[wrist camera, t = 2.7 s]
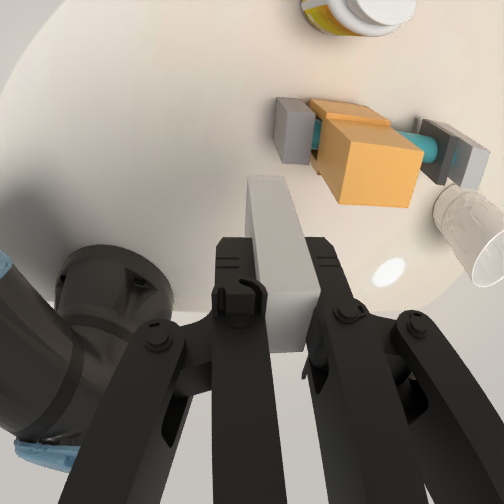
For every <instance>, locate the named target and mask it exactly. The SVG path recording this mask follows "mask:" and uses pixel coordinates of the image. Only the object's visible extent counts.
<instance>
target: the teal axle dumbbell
mask: <svg viewBox="0 0 504 504" xmlns="http://www.w3.org/2000/svg"><path fill="white" fill-rule="evenodd" d="M315 116H316V114H315V113H314V112H313V111H312V110H311V109H310V108H309V107H308V106H307V105H306V104H305V103H304V102H302V101H301V100H300V99H294V98H280V97H277V99H276V112H275V124H274V136H273V141H274V143H275V146H276V148H277V151H278V153H279V156H280V158H281V161H282V163H283V164H303V165H309V162H310V154H311V149H314V150H318V147H319V140H320V133H321V126H322V120H318V119H315ZM395 131H397V132H398V133H400V134H401V135H402V136H404V137H405V138H407V139H408V140H409V141H411V142H412V143H413V144H415V145H416V146H417V147H419V148H420V149H421V150H423V151H424V156H423V160H422V163H421V167H420V170H421V171H422V172H423V173H425V174H426V175H427V176H428V177H429V178H430V179H431V180H432V181H433V182H434V183H435V184H437V185H444V186H445V183H446V180H447V177H448V178H450V179H451V180H452V181H453V182H454V183H455V184H456V185H457V186H459V187H460V188H464V189H470V190H478V187H479V185H480V182H481V179H482V176H483V173H484V170H485V167H486V164H487V161H488V158H489V154H490V151H489V150H487V149H486V148H484V147H483V146H481V145H480V144H478V143H477V142H475V141H474V140H472V139H471V138H469V137H468V136H466V135H464V134H463V133H461V132H459V131H458V130H456V129H455V128H453V127H451V126H449V125H447V124H443V123H439V122H435V121H431V120H427V119H423V120H422V125H421V129H420V133H419V134H415V133H409V132H404V131H399V130H395Z"/></svg>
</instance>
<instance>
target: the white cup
mask: <svg viewBox="0 0 504 504" xmlns="http://www.w3.org/2000/svg"><path fill="white" fill-rule="evenodd" d="M433 219H434V223H435V225H436V227H437V228H438V229H439V231H440V232H441V233H442V235H443V236H444V238H445V240H446V242H447V243H448V245H449V246H450V247H451V249H452V251H453V252H454V254H455V256H456V257H457V259H458V260H459V262H460V263H461V265H462V266H463V268H464V269H465V271H466V272H467V274H468V275H469V277H470V279H471V280H472V282H473V283H474V285H476V286H477V287H488V286H491V285H493V284H495V283H497V282H498V281H500V280H501V279H503V278H504V213H503V212H502V211H501V210H500V209H499V208H498V207H497V206H495V205H494V204H493V203H491V202H490V201H489V200H488V199H487V198H485V197H484V196H482V195H481V194H479V193H478V192H477V191H476V190H470V189H464V188H460V187H459V186H457V185H456V184H454V185H451V186H449V187H448V188H447V189H446V190H445V191H443V192H442V193H441V194H440V196H439V198H438V199H437V201H436V203H435V205H434V210H433Z"/></svg>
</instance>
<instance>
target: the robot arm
mask: <svg viewBox="0 0 504 504" xmlns="http://www.w3.org/2000/svg"><path fill="white" fill-rule="evenodd" d="M245 236H246V238H245V237H223V238H222V239H221V241H220V242H219V243H218V245H217V246H216V263H215V286H214V288H213V291H212V294H211V296H212V310H211V311H210V313H209V314H208V315H207V316H206V317H204V318H203V319H201V320H200V321H197V322H195V323H192V324H188V325H184V326H179V325H177V324H176V323H175V322H173V321H170V320H171V315H172V309H173V293H172V289H171V287H170V285H169V283H168V281H167V279H166V278H165V276H164V275H163V274H162V273H161V272H160V271H159V270H158V269H157V268H156V267H155V266H154V265H153V264H152V263H150V262H149V261H148V260H146V259H144V258H143V257H141V256H139V255H137V254H135V253H133V252H131V251H128V250H125V249H122V248H118V247H113V246H103V245H99V246H90V247H86V248H83V249H80V250H78V251H76V252H74V253H73V254H72V255H71V256H69V257H68V259H67V260H66V261H65V263H64V265H63V267H62V269H61V271H60V273H59V275H58V277H57V281H56V288H55V303H54V309H53V308H52V307H51V306H50V305H49V304H48V303H47V302H46V301H45V300H44V299H43V298H42V296H41V295H40V294H39V293H38V292H37V291H36V290H35V289H34V288H33V286H32V285H31V284H30V283H29V282H28V281H27V280H26V278H25V277H24V276H23V275H22V274H21V273H20V271H19V270H18V269H17V268H16V267H15V265H14V264H13V261H12V259H11V258H10V256H9V255H8V254H6V253H3V252H2V250H1V249H0V427H1V428H3V429H5V430H6V431H8V432H10V433H11V434H13V435H15V436H16V437H17V438H16V440H14V445H15V452H16V454H17V455H18V456H19V457H21V458H23V459H24V460H26V461H29V462H32V463H34V464H38V465H40V466H43V467H47V468H50V469H54V470H58V471H62V472H66V473H69V476H68V478H67V481H66V483H65V486H64V489H63V491H62V494H61V496H60V499H59V502H58V504H160V501H161V497H162V494H163V491H164V488H165V484H166V481H167V478H168V475H169V472H170V468H171V465H172V462H173V459H174V456H175V452H176V449H177V446H178V443H179V440H180V437H181V434H182V430H183V427H184V424H185V421H186V418H187V415H188V412H189V408H190V405H191V402H192V399H193V396H194V395H196V394H200V393H203V392H206V391H210V390H212V474H213V504H287V497H286V488H285V479H284V471H283V462H282V453H281V445H280V437H279V428H278V419H277V411H276V402H275V394H274V386H273V377H272V369H271V361H270V353H286V352H303V350H304V346H305V343H306V344H307V349H308V357H307V360H306V363H305V366H304V369H303V371H302V379H305V378H306V375H308V381H309V387H310V392H311V398H312V403H313V408H314V414H315V420H316V426H317V432H318V438H319V443H320V450H321V456H322V462H323V468H324V475H325V481H326V488H327V494H328V501H329V504H429V503H428V499H427V495H426V490H425V486H426V488H427V490H428V492H429V494H430V496H431V497H432V499H433V501H434V503H435V504H504V423H503V421H502V420H501V418H500V416H499V415H498V413H497V412H496V410H495V409H494V407H493V405H492V404H491V402H490V401H489V399H488V398H487V396H486V394H485V393H484V391H483V390H482V389H481V387H480V385H479V384H478V383H477V381H476V380H475V378H474V377H473V375H472V374H471V372H470V371H469V369H468V368H467V367H466V365H465V364H464V362H463V361H462V359H461V358H460V357H459V355H458V354H457V353H456V351H455V350H454V348H453V347H452V346H451V344H450V343H449V342H448V340H447V339H446V338H445V336H444V335H443V333H442V332H441V331H440V330H439V328H438V327H437V326H436V324H435V323H434V322H433V321H432V320H431V319H430V318H429V317H428V316H427V315H426V314H424V313H422V312H420V311H415V310H407V311H404V312H402V313H401V314H400V315H399V317H398V318H397V320H393V319H389V318H383V317H378V316H376V315H372V314H370V313H369V311H368V309H367V308H366V306H365V305H364V304H363V303H361V302H360V301H359V300H357V299H354V297H353V295H352V292H351V289H350V287H349V284H348V282H347V279H346V277H345V274H344V272H343V269H342V267H341V264H340V262H339V259H337V254H336V252H335V249H334V247H333V246H332V245H331V244H330V243H329V242H328V241H327V240H326V239H325V238H324V237H304V234H303V231H302V228H301V225H300V222H299V219H298V216H297V213H296V210H295V207H294V204H293V201H292V198H291V195H290V192H289V190H288V187H287V184H286V181H285V178H284V176H252V175H248V180H247V200H246V220H245ZM424 484H425V486H424Z"/></svg>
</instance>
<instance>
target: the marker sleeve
mask: <svg viewBox="0 0 504 504" xmlns="http://www.w3.org/2000/svg"><path fill="white" fill-rule="evenodd" d="M309 108H310V109H311V110H312V111H313V112H314V113H315V114H316V116H315V119H318V120H322V126H321V133H320V140H319V147H318V150H314V149H311V154H310V163H311V165H312V166H313V168H314V170H315V171H316V173H317V175H322V177H323V178H324V180H325V182H326V184H327V185H328V187H329V189H330V190H331V192H332V194H333V195H334V197H335V199H336V201H337V202H338V204H343V205H364V206H382V207H397V208H408V207H409V204H410V201H411V197H412V194H413V191H414V188H415V184H416V181H417V178H418V174H419V171H420V167H421V163H422V160H423V156H424V151H423V150H421V149H420V148H419V147H417V146H416V145H415V144H413V143H412V142H411V141H409V140H408V139H407V138H405V137H404V136H402V135H401V134H400V133H398V132H397V131H395V130H394V129H393V128H391V127H390V124H391V121H389V120H388V119H386V118H385V117H383V116H381V115H380V114H378V113H377V112H375V111H373V110H372V109H370V108H369V107H367V106H362V105H356V104H349V103H342V102H335V101H326V100H318V99H310V106H309Z"/></svg>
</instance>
